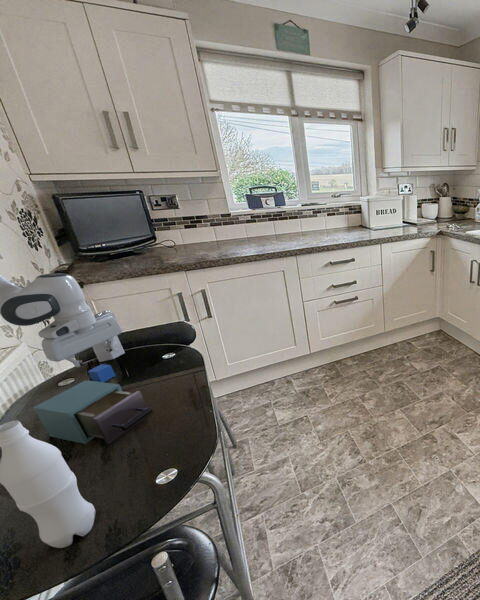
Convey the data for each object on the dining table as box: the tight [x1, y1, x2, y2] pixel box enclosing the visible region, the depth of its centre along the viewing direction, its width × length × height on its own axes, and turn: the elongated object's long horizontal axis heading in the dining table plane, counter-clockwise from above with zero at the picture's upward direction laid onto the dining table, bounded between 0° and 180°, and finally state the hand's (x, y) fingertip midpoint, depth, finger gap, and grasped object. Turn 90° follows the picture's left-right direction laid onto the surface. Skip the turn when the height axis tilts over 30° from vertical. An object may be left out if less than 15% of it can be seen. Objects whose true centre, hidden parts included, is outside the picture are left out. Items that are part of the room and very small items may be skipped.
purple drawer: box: [74, 390, 153, 445], centre depth 85 cm, size 18×11×8 cm, turn 74°
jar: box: [91, 335, 126, 363], centre depth 125 cm, size 9×8×12 cm
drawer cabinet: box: [32, 379, 124, 445], centre depth 89 cm, size 14×12×10 cm
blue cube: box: [87, 363, 116, 383], centre depth 112 cm, size 4×4×4 cm
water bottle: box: [0, 420, 96, 549], centre depth 56 cm, size 7×7×25 cm
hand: (95, 358), depth 110 cm, fingers open, 8 cm apart
